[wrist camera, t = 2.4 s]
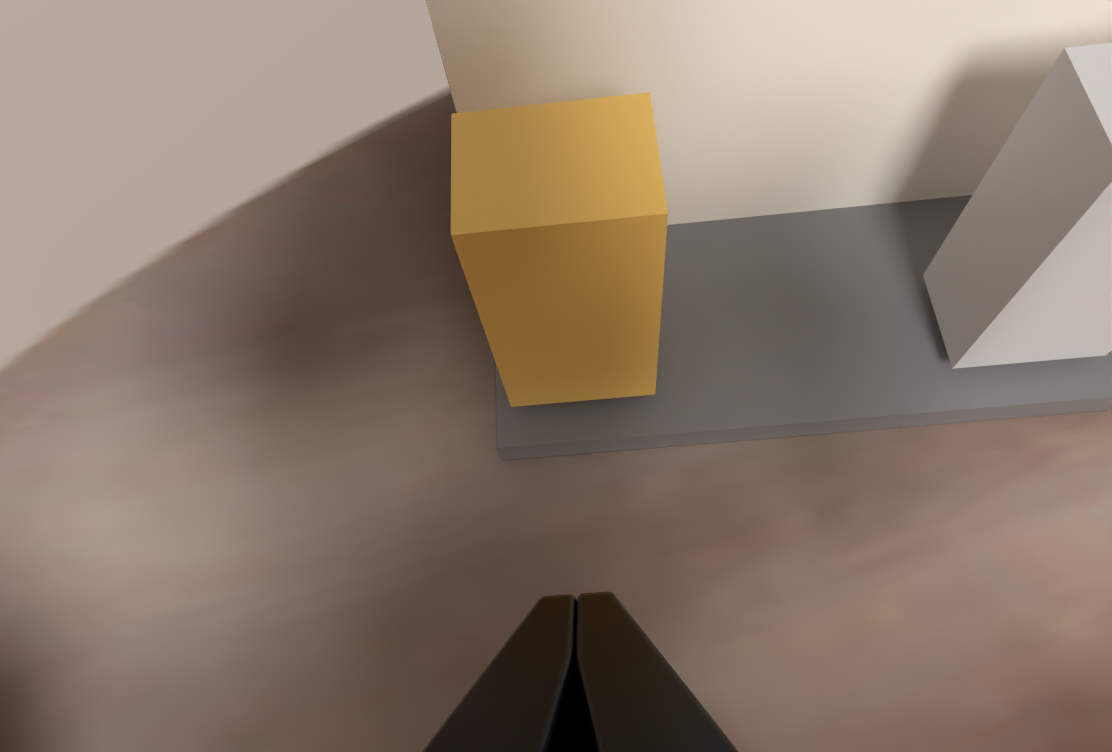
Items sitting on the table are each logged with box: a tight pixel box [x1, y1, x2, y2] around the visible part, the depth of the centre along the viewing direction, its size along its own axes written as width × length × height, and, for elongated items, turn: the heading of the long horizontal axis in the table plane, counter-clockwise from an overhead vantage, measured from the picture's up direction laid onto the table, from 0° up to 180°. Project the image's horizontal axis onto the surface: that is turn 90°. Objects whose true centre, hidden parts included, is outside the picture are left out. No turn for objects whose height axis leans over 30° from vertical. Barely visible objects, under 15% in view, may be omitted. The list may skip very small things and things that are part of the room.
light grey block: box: [923, 42, 1112, 369], centre depth 18 cm, size 3×4×8 cm
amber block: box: [451, 92, 668, 407], centre depth 18 cm, size 3×4×8 cm
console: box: [426, 0, 1112, 460], centre depth 19 cm, size 11×17×12 cm, turn 93°
